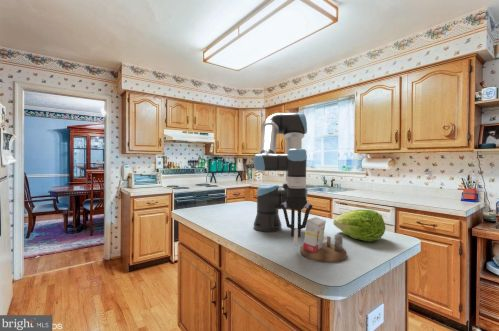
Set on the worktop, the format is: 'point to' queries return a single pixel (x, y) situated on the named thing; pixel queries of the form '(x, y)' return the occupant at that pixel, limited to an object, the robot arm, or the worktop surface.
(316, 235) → the ink box
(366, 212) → the lettuce
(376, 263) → the worktop surface
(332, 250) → the disc
